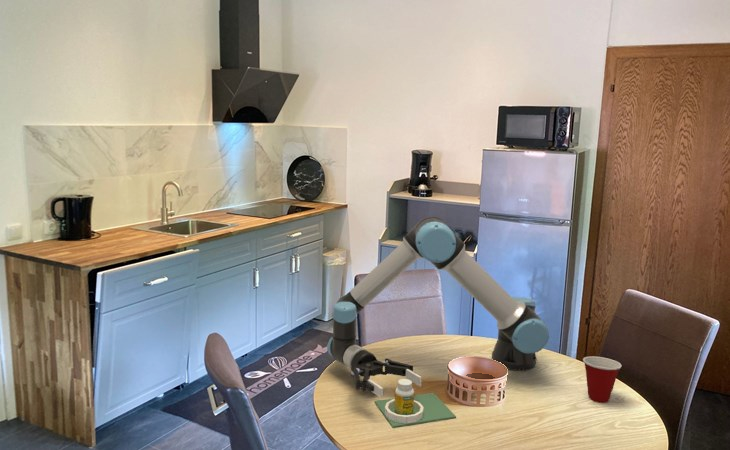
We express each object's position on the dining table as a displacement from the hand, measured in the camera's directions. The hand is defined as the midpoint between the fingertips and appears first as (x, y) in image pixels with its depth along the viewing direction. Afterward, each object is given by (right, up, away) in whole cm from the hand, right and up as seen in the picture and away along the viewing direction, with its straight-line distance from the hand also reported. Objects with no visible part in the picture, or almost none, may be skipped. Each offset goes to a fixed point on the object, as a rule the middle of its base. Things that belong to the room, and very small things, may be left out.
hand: (401, 387), depth 161 cm
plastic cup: (+61, -7, +13) cm, 63 cm away
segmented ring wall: (+1, -8, +1) cm, 8 cm away
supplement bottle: (+1, -8, +1) cm, 8 cm away
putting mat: (+4, -8, +4) cm, 9 cm away
